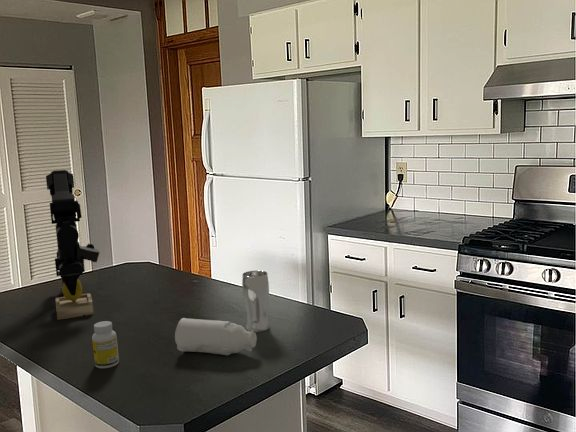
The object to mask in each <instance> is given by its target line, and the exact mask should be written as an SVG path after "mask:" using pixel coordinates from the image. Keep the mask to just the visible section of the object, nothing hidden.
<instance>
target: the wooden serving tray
mask: <svg viewBox="0 0 576 432" xmlns="http://www.w3.org/2000/svg"><path fill="white" fill-rule="evenodd" d="M93 304H94V303H93V299H92V295H91V292H90V293H82V295H81V296H80V298H79V299H77V300H76V302H72V301H71V300H68V299H66V298H65V297H64V296H61V297H55V309H56V319H57V320H65V319H71V318H77V317H84V316H83V315H85V316H89V315H94V314H95V313H94V305H93Z"/></svg>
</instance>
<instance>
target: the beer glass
mask: <svg viewBox="0 0 576 432" xmlns="http://www.w3.org/2000/svg"><path fill="white" fill-rule="evenodd" d="M241 279H242V284H241V286H242V289H241V290H242V296H243V301H244V305H245V310H246V317H247V318H246V328H245V330H246V331H249V332H251V331H252V330H253V331H254V333H263V332H266V331H267V330H269V329H270V324H269V320H268V306H269V298H270V286H269V285H270V284H269V277H268V272H267V271H264V270H249V271H246V272H243V273H242V278H241Z"/></svg>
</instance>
